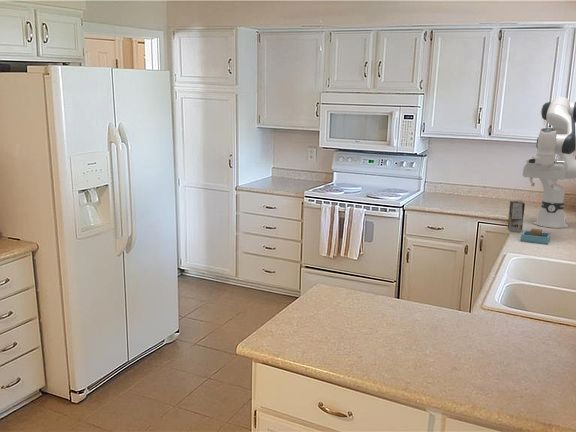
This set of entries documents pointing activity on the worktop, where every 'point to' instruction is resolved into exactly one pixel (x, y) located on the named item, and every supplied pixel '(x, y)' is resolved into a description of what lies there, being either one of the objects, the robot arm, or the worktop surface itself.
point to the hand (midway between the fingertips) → (542, 186)
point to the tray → (535, 238)
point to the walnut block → (536, 232)
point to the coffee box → (516, 216)
